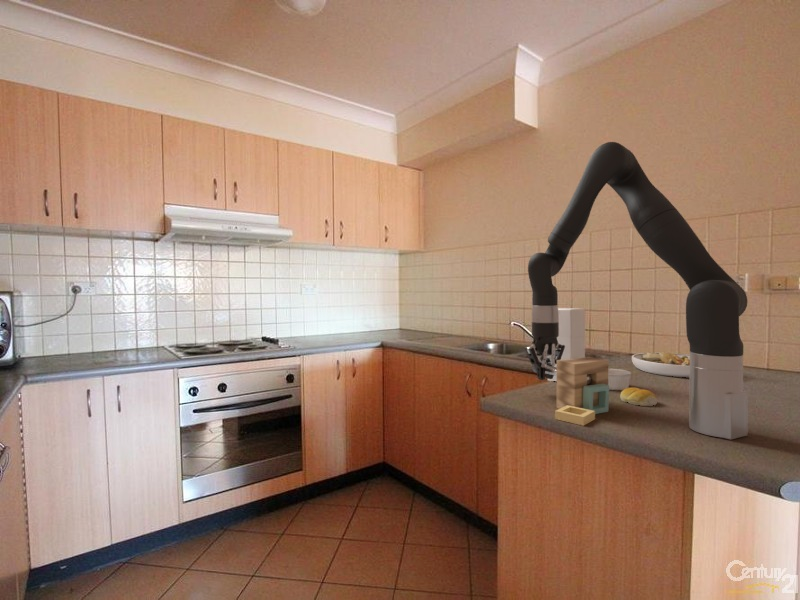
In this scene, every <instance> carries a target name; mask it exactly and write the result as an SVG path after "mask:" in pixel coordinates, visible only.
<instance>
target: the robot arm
mask: <svg viewBox="0 0 800 600" xmlns="http://www.w3.org/2000/svg"><path fill="white" fill-rule="evenodd" d="M606 184H607V185H609V187H611V189H613V191H614V192H615V193H616V194H617V195H618V196H619V197H620V198H621V200H622V201H623V203H624V204H625V206H626V209H627V212H628V214H629V219H630V221H631V223H632V224H633V227H634V228H635V230H636V232H637V234H638V235H640V237H641V238H642V240H643V241H644V242H645V244H646V245H647V246H648V247H649V249H650V250H651V251H652V252H653V253H654V254H655V255H656V256H657V257H659V258H660V259H661V260H662V261H663V262H664V263H665V264H667V265H668V266H669V267H671V268H672V270H674V272H676V273H677V275H679V276H680V278H681V279H682V280H683V281H684V283H685V284H686V286H687V287H688V289H689V292H687V293H688V294H687V297H686V299H685V301H686V302H685V326H686V331H685V332H686V337H687V341H688V344H689V355H690V376H689V378H688V379H689V387H688V388H689V389H688V390H689V391H688V394H689V399H688V401H689V402H688V403H689V405H688V407H689V409H688V413H689V415H688V427H689V429H690V430H692V431H694V432H697V433H700V434H702V435H706V436H711V437H717V438H721V439H727V440H736V439H740V438H742V437H747V436H748V425H749V422H748V419H749V418H748V417H749V416H748V409H749V406H748V405H749V393H748V391H747V390H745V389H744V343H743V340H742V339H741V335H740V317H741V316H742V315H743V314H744V313H745V311H746V309H747V307H748V296H747V294H746V291H745V290H744V288H742V286H741V285H740V284H738V283H737V282H736V281H735V280H734V279H733V278H732V277H731V275H729V274H728V273H727V272H726V271H725V270H724V268H723V267H721V266H720V265H719V264H718V263H717V261H715V260H714V258H713V257H712V256H711V254H710V253H709V252H708V250H707V249H706V247H705V246H704V244H703V243H702V241H701V240H700V238H699V237H698V236H697V234H696V232H695V231H694V230H693V229H692V227H691V226H690V223H688V222H687V220H686V219H685V218H684V216H683V215H682V214H681V213H680V211H679V210H678V209H677V208H676V207H675V206H674V205H673V203H672V202H671V201H670V200H669V199H668V197H666V196H665V195H664V194H663V193H662V192H661V191H660V190H659V189H658V188H657V187H656V186H655V185H653V182H651V180H650V179H649V177H648V176H647V175H646V173H645V171H644V170H643V168H642V166H641V165H640V163H639V161H638V159H637V157H636V156H635V155H634V153H633V151H631V150H630V149H628V148H626V147H625V146H624V144H623V145H622V144H621V143H619V142H616V141H608V142H604V143H603V144H601V145H599V146H598V147H597V148H596V149H595V150H594V151H593V153H592V155H591V156H590V158H589V160H588V162H587V165H586V167H585V168H584V171H583V173H582V175H581V178H580V180H579V182H578V184H577V186H576V189H575V190H574V192H573V194H572V197H571V198H570V200H569V202H568V204H567V206H566V208H565V211H564V212H563V213H562V215H561V217H560V218H559V219H558V221H557V223H556V224H555V226H554V227H553V229H552V230H551V232H550V234H549V236H548V238H547V242H548V246H547V248H546V251H545V252H537V253H534V254H533V255H532V256H531V257H530V258H529V260H528V263H527V272H528V279H529V283H530V287H531V290H532V293H531V294H532V298H531V299H532V300H531V303H532V308H531V336H532V337H533V340H532V343H531V345H529V346H525V347H524V351H525V353H526V355H527V358H528V359H529V362H530V365H535V366H537V373H536V377H537V379H538V380H540V381H545V380H546V379H547V380H548V379H553V376H554V375H551V374H547V373H545V367H544V366H545V365H548V366H553V367H554V366H555V364H557V360H561V357H562V354H563V351H564V349H565V346H564V345H561V344H559V343H558V341H557V337H558V336H559V313H558V308H559V307H558V302H559V301H558V300H559V299H558V289H557V287H556V286H554V284H553V279H552V278H553V277H555V276H556V275H558V274H559V272H561V270H562V268H563V267H564V265H565V262H566V261H567V258H568V256H569V253H570V250H571V249H572V248H573V246H574V244H575V243H576V242H577V240H578V239H579V237H580V235H582V232H583V231H584V229H585V228H586V225H587V223H588V220H589V217H590V214H591V211H592V208H593V206H594V204H595V202H596V200H597V198H598V195H600V192H601V191H602V190H603V188H604V187H605V185H606ZM556 356H557V358H556ZM540 362H541V363H540Z"/></svg>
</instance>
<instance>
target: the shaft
mask: <svg viewBox="0 0 800 600" xmlns="http://www.w3.org/2000/svg"><path fill="white" fill-rule="evenodd" d="M540 363H541V361H540ZM531 365H532V364H531ZM544 367H545V374H546V373H547V374H551V375H554V376H557V367H553V366H548V365H546V364H545V366H544ZM531 369H532V371H533V372H534V373H536V374H537V366H535V365H532V366H531ZM591 382H592V377H591V375H588V374H587V384H590V383H591Z"/></svg>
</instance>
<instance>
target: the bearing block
mask: <svg viewBox="0 0 800 600" xmlns="http://www.w3.org/2000/svg"><path fill="white" fill-rule="evenodd" d="M608 368H609V360H608V359H604V358H599V357H597V358H596V357H592V356H585V357H584V358H574V359H564V360H557V383H556V408H557V409H560V408H562V407H565V406H567V405H569V406H574V407H579V408H583V386H589V385H596V384H606V385H608ZM587 374H588V375H591V377H592V382H591V383H590V384H587ZM597 405H599V392H594V393H593V406H597Z"/></svg>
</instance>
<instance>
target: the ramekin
mask: <svg viewBox="0 0 800 600" xmlns="http://www.w3.org/2000/svg"><path fill="white" fill-rule="evenodd" d="M631 377H632V372H631V371H628V370H626V369H621V368H620V369H619V368H609V367H608V385H609V391H623V390H624V389H626V388H630V381H631Z"/></svg>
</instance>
